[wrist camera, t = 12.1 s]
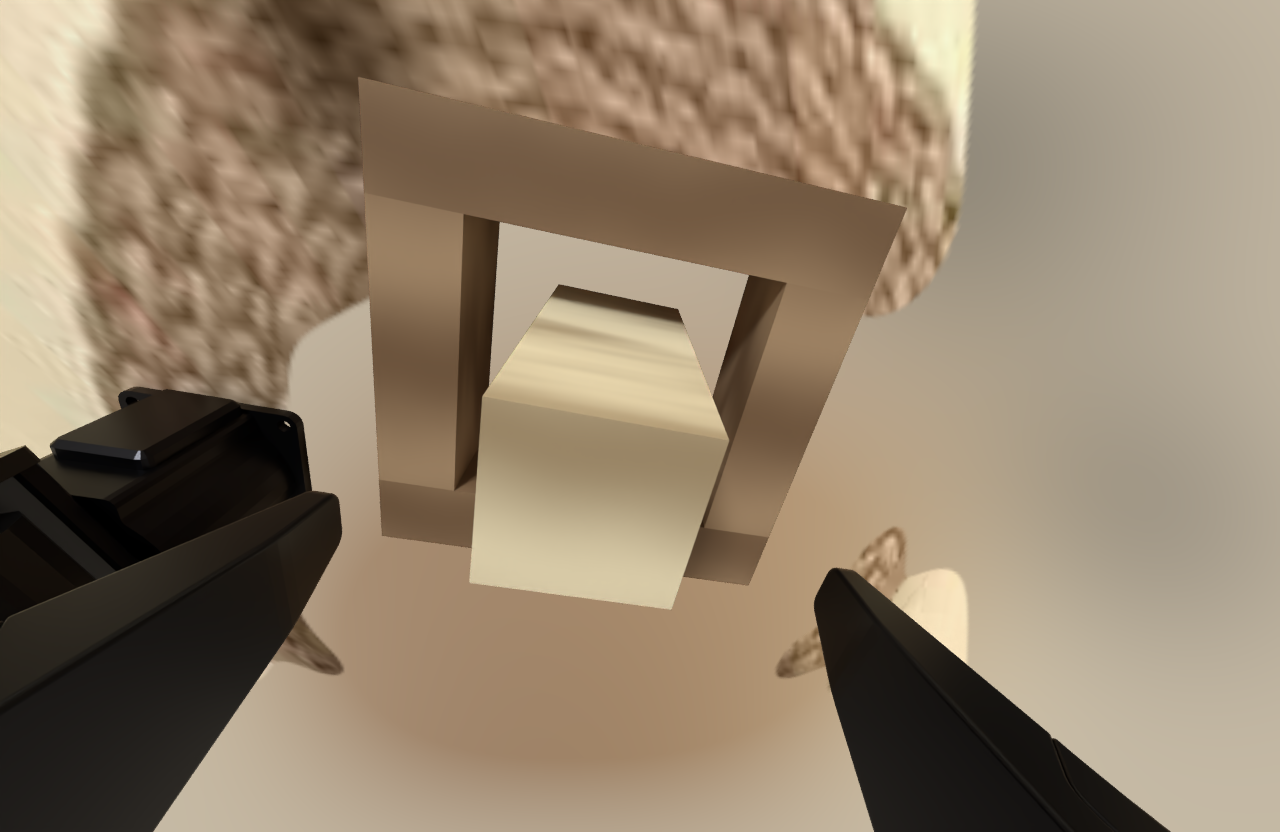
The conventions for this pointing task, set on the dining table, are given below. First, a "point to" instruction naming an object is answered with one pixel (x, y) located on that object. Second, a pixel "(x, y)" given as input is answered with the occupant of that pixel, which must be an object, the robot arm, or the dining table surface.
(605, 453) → the birch peg
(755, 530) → the socket block
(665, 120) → the dining table surface
